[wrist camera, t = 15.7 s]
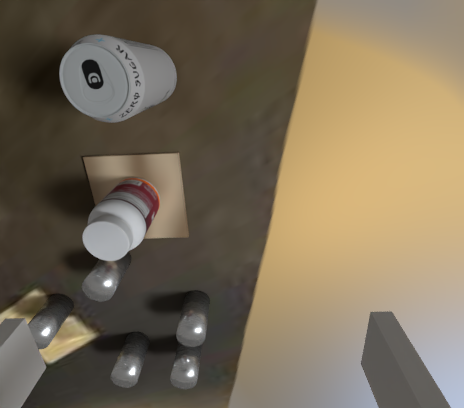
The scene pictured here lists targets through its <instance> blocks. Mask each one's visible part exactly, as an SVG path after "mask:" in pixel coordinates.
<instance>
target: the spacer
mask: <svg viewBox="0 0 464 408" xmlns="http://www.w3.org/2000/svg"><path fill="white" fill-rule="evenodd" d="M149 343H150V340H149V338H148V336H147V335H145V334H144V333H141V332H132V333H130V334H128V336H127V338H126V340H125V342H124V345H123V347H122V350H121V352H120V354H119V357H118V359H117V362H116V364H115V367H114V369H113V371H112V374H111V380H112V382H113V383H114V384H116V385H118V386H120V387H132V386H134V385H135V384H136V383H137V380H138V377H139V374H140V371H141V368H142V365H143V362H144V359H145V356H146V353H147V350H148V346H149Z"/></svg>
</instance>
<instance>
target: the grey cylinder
mask: <svg viewBox="0 0 464 408" xmlns="http://www.w3.org/2000/svg"><path fill="white" fill-rule="evenodd" d="M201 348H202V344H201V345H199V346H195V347H188V346H185V345H183V344H181V343H180V342H178V346H177V351H176V356H175V360H174V365H173V369H172V374H171V379H170V380H171V383H172V384H173V385H174V386H175V387H177V388H180V389H189V388H192V387H194V386H195V385H196V384H197V378H198V371H199V363H200V356H201Z"/></svg>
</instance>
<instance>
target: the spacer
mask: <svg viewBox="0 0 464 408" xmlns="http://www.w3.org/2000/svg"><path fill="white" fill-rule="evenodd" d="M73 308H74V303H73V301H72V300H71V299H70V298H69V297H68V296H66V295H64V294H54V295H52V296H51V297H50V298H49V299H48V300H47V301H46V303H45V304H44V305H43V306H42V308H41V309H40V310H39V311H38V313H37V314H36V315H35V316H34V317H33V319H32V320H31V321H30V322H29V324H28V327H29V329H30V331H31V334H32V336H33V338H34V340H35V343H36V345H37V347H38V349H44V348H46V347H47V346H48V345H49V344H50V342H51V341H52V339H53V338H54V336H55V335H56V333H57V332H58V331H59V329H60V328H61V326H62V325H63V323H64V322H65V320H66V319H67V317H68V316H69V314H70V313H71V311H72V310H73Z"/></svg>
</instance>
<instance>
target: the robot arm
mask: <svg viewBox="0 0 464 408" xmlns="http://www.w3.org/2000/svg"><path fill="white" fill-rule="evenodd" d="M361 365H362V367H363V370H364V372H365V375H366V377H367V380H368V382H369V384H370V387H371V390H372V392H373V395H374V397H375V399H376V402H377V404H378V406H379V408H450V405H449V404H448V402H447V401H446V399H445V397H444V396H443V394H442V392H441V391H440V389H439V388H438V386H437V384H436V383H435V381H434V379H433V378H432V376H431V375H430V373H429V371H428V370H427V368H426V366H425V365H424V363H423V362H422V360H421V358H420V357H419V355H418V353H417V352H416V350H415V348H414V347H413V345H412V344H411V342H410V340H409V339H408V338H407V336H406V334H405V332H404V331H403V329H402V327H401V326H400V324H399V322H398V321H397V319H396V318H395V316H394V314H393V313H392V312H371V313H370V318H369V324H368V329H367V334H366V340H365V345H364V350H363V356H362V361H361ZM45 369H46V365H45V363H44V361H43V359H42V356H41V354H40V352H39V349H38V347H37V345H36V343H35V340H34V338H33V336H32V334H31V331H30V329H29V327H28V324H27V322H26V320H25V318H18V319H5V320H4V321H3V322H2V323H1V324H0V408H21V406H22V405H23V403H24V402H25V400H26V398H27V397H28V395H29V394H30V392H31V391H32V389H33V387H34V386H35V384H36V383H37V381H38V380H39V378H40V376H41V375H42V373H43V372H44V370H45Z"/></svg>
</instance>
